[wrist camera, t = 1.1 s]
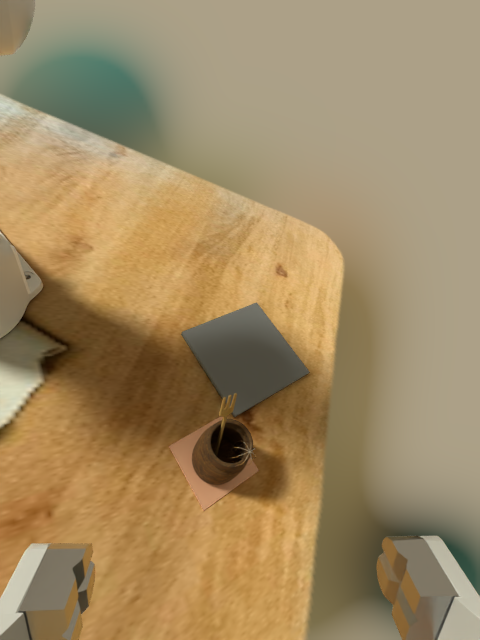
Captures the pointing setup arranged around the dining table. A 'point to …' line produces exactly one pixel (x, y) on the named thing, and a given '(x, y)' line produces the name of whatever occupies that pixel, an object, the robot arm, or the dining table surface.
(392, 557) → the robot arm
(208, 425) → the pink tile
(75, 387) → the dining table surface
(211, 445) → the utensil holder
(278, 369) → the charcoal mat
